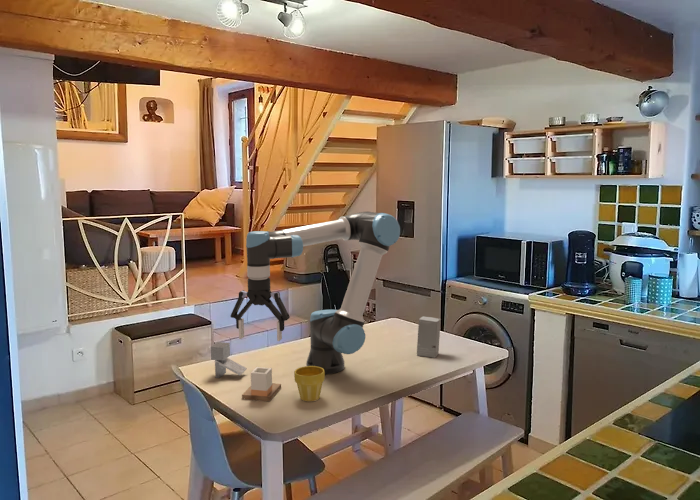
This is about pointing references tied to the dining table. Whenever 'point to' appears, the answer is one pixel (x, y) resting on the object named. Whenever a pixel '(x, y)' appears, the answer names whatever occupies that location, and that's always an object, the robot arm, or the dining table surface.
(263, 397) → the pin board
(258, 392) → the sleeve
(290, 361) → the dining table surface
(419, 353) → the skincare box
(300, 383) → the plant pot
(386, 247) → the robot arm
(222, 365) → the chute
